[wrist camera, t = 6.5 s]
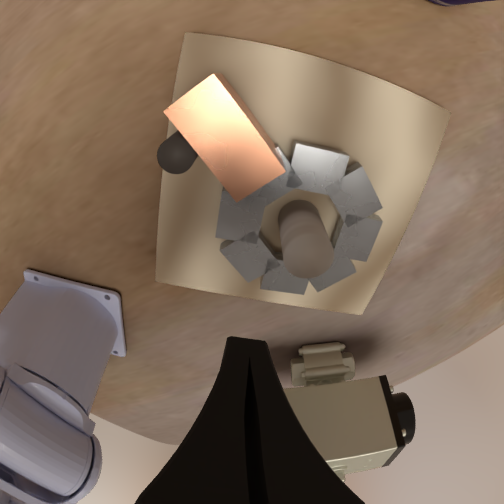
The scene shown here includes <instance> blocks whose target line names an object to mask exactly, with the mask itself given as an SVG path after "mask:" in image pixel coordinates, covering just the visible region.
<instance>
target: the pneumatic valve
mask: <svg viewBox="0 0 504 504" xmlns="http://www.w3.org/2000/svg"><path fill="white" fill-rule="evenodd" d="M344 349H345V345H344V344H343V343H341V344H340V343H339V342H332V343H324V344H315V345H305V346H302V348H299V356H301V355H302V358H292V359H291V361H290V362H291V378H292V385H293V386H304V387H297V388H286V389H283V390H284V392H285V394H286V397H287V399H288V401H289V403H290V405H291V407H292V409H293V411H294V413H295V415H296V417H297V419H298V421H299V422H300V424H301V426H302V428H303V429H304V431H305V432H306V434H307V436H308V437H309V439H310V440H311V442H312V443H313V445H314V446H315V448H316V449H317V451H318V452H319V453H320V455H321V456H322V457H323V458H324V460H325V461H326V462H327V464H328V465H329V466H330V467H331V469H332V470H333V471H334V472H335V473H336V475H337V476H338V477H339V478H340V479H341V480H342V481H343V482H345V474H350V473H356V472H361V471H366V470H371V469H375V468H380V467H384V466H388V465H389V464H390V463H391V462H392V461H393V460H394V459H395V457H396V456H397V455H398V454H399V453H400V452H401V450H402V449H403V448H404V447H405V444H409V443H410V442H411V441H412V439H413V436H414V433H415V413H414V408H413V405H412V402H411V400H410V398H409V397H408V395H407V394H406V393H403V392H401V393H397V394H391V393H392V392H393V386H389V384H388V380H387V377H386V375H383V376H378V377H372V378H366V379H360V380H354V381H347V382H346V381H345V380H351V379H353V377H354V375H355V362H354V358H353V355H352V354H351V353H350V352H345V353H341V351H344Z"/></svg>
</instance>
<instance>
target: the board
mask: <svg viewBox="0 0 504 504" xmlns="http://www.w3.org/2000/svg"><path fill="white" fill-rule="evenodd" d="M213 73H222V74H223V75H224V77H225V78H226V79H227V80H228V82H229V83H230V84H231V86H232V87H233V88H234V90H235V91H236V92H237V93H238V95H239V96H240V97H241V99H242V100H243V101H244V103H245V104H246V105H247V107H248V108H249V109H250V111H251V112H252V114H253V115H254V116H255V118H256V119H257V120H258V122H259V123H260V124H261V126H262V127H263V129H264V130H265V131H266V133H267V134H268V136H269V137H270V138H271V140H272V141H273V143H274V144H276V143H277V144H278V145H279V147H280V148H281V149H282V151H283V152H284V154H285V155H286V157H287V158H288V160H290V155H291V151H292V147H293V143H294V140H297V141H301V142H306V143H310V144H315V145H319V146H323V147H327V148H331V149H335V150H339V151H343V152H346V153H347V154H348V155H349V156H350V157H349V160H348V164H347V167H349V166H351V165H353V164H354V163H356V162H359V163H360V164H361V165H362V167H363V168H364V170H365V172H366V174H367V176H368V178H369V180H370V182H371V184H372V186H373V188H374V190H375V192H376V194H377V196H378V198H379V201H380V203H381V205H382V207H383V208H382V209H380V210H378V211H376V212H375V213H373V214H375V215H379V217H380V218H381V220H382V221H383V223H382V226H381V228H380V231H379V233H378V236H377V238H376V240H375V243H374V245H373V248H372V250H371V252H370V255H369V257H368V259H367V262H364V261H358V260H352V259H351V261H352V262H353V264H354V266H355V269H356V271H357V272H356V273H354V274H352V275H350V276H348V277H346V278H344V279H343V280H341V281H339V282H337V283H335V284H333V285H331V286H329V287H327V288H325V289H323V290H322V291H320V292H317V291H316V290H315V288H314V287H313V285H312V284H311V283H310V281H309V282H308V285H307V288H306V291H305V293H304V295H300V294H293V293H285V292H278V291H271V290H264V289H260V279H261V276H260V277H258V278H256V279H254V280H253V281H251V282H249V283H248V282H247V281H246V280H245V279H244V278H243V277H242V276H241V274H240V273H239V272H238V271H237V270H236V269H235V268H234V267H233V265H232V264H231V263H230V262H229V261H228V260H227V259H226V258H225V256H224V255H223V254H222V253H221V252H220V245H221V243H222V242H224V241H225V240H227V239H221V238H215V236H216V229H217V222H218V215H219V208H220V201H221V194H222V189H223V185H222V184H221V183H220V181H219V180H218V179H217V177H216V176H215V175H214V174H213V172H212V171H211V170H210V169H209V167H208V166H207V165H206V164H205V162H204V161H203V160H202V159H201V157H200V156H199V155H198V154H197V152H196V151H195V150H194V149H193V148H192V146H191V145H190V144H189V143H188V141H187V140H186V139H185V138H184V136H183V135H182V134H181V133H180V131H179V130H178V129H177V128H176V127H175V125H174V124H173V123H172V122H171V120H170V119H169V124H168V132H167V139H166V140H165V141H164V142H163V143H162V144H161V145H160V147H159V149H158V152H157V159H158V162H159V164H160V166H161V167H162V169H163V173H162V183H161V193H160V205H159V218H158V233H157V251H156V277H155V281H156V282H161V283H166V284H171V285H176V286H182V287H187V288H192V289H198V290H203V291H208V292H214V293H220V294H225V295H231V296H237V297H243V298H249V299H255V300H261V301H267V302H273V303H280V304H286V305H293V306H299V307H306V308H313V309H320V310H327V311H335V312H342V313H350V314H358V315H362V313H363V312H364V310H365V308H366V306H367V305H368V303H369V301H370V299H371V297H372V296H373V294H374V292H375V290H376V288H377V286H378V285H379V283H380V281H381V279H382V277H383V275H384V273H385V271H386V269H387V267H388V265H389V264H390V262H391V260H392V258H393V256H394V254H395V252H396V250H397V247H398V245H399V243H400V241H401V239H402V237H403V235H404V233H405V231H406V229H407V226H408V224H409V222H410V220H411V218H412V215H413V213H414V211H415V208H416V206H417V204H418V202H419V199H420V197H421V194H422V192H423V190H424V187H425V185H426V182H427V180H428V177H429V175H430V172H431V169H432V167H433V164H434V162H435V159H436V156H437V153H438V151H439V148H440V145H441V142H442V139H443V136H444V133H445V130H446V127H447V124H448V121H449V118H450V115H451V112H450V111H448V110H446V109H444V108H442V107H440V106H438V105H436V104H434V103H433V102H431V101H429V100H427V99H425V98H422V97H420V96H418V95H416V94H414V93H412V92H410V91H408V90H405V89H403V88H401V87H399V86H396V85H394V84H392V83H389V82H387V81H384V80H382V79H379V78H377V77H374V76H372V75H369V74H367V73H364V72H361V71H358V70H356V69H353V68H350V67H347V66H344V65H341V64H338V63H335V62H332V61H329V60H326V59H322V58H319V57H315V56H312V55H308V54H305V53H301V52H297V51H293V50H289V49H285V48H281V47H277V46H272V45H268V44H263V43H258V42H253V41H248V40H242V39H236V38H230V37H223V36H216V35H208V34H199V33H189V32H185V36H184V41H183V45H182V50H181V55H180V60H179V65H178V70H177V75H176V81H175V87H174V92H173V98H172V104H173V103H175V102H176V101H177V100H178V99H180V98H181V97H182V96H183V95H185V94H186V93H187V92H189V91H190V90H191V89H193V88H194V87H195V86H197V85H198V84H199V83H201V82H202V81H203V80H205V79H206V78H208V77H209V76H210V75H212V74H213ZM347 167H346V168H347ZM339 218H340V213H339V212H338V210H337V208H336V207H335V205H334V203H333V202H332V200H331V198H330V196H329V195H325V194H320V193H315V192H310V191H305V190H300V189H293V190H292V191H290V192H288V193H287V194H285V195H283V196H282V197H280V198H278V199H277V200H275V201H273V202H272V203H270V204H268V205H267V206H265V209H264V213H263V218H262V222H261V227H260V233H261V234H262V235H263V236H264V238H265V239H266V240H267V242H268V243H269V244H270V245H271V247H272V248H273V249H274V251H275V252H279V253H283V261H284V265H285V267H286V269H287V270H288V272H289V273H291V274H292V275H294V276H296V277H299V278H304V279H308V278H314V277H317V276H320V275H322V274H323V273H325V272H326V271H327V270H328V269H329V268H330V266H331V265H332V263H333V260H334V250H333V247H332V245H331V242H332V239H333V236H334V233H335V230H336V227H337V224H338V221H339Z"/></svg>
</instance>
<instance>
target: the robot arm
mask: <svg viewBox="0 0 504 504" xmlns="http://www.w3.org/2000/svg"><path fill="white" fill-rule="evenodd" d="M24 278H25V281H24V282H23V284H22V285H21V286H20V288H19V289H18V290H17V292H16V293H15V294H14V296H13V297H12V298H11V300H10V301H9V302H8V304H7V305H6V307H5V308H4V309H3V311H2V312H1V314H0V504H76V503H77V502H78V501H79V500H80V499H82V498H83V497H85V496H86V495H87V494H88V493H89V492H90V491H91V490H92V489H93V488H94V486H95V485H96V483H97V481H98V479H99V476H100V473H101V467H102V452H101V446H100V443H99V441H98V439H97V438H96V437H95V435H94V434H93V430H94V427H95V422H93V421H92V420H91V419H89V418H88V416H89V413H90V410H91V407H92V404H93V401H94V398H95V396H96V393H97V390H98V387H99V384H100V381H101V378H102V376H103V373H104V370H105V368H106V365H107V362H108V360H109V357H110V354H113V355H117V356H121V357H124V356H126V344H125V337H124V328H123V319H122V309H121V297H120V295H119V294H118V293H117V292H115V291H111V290H107V289H102V288H98V287H94V286H90V285H86V284H82V283H78V282H74V281H70V280H66V279H62V278H58V277H55V276H51V275H47V274H44V273H40V272H36V271H33V270H29V269H26V270H25V271H24ZM107 295H108V296H107ZM135 504H365V503H364V502H363V501H362V500H361V499H360V498H359V497H358V496H357V495H356V494H355V493H353V492H352V491H351V490H350V488H348V487H347V486H346V485H345V483H344V482H343V481H342V480H341V479H340V478H339V477H338V476H337V475H336V473H335V472H334V471H333V470H332V469H331V467H330V466H329V465H328V464H327V462H326V461H325V460H324V458H323V457H322V456H321V455H320V453H319V452H318V451H317V449H316V448H315V446H314V445H313V443H312V442H311V440H310V439H309V437H308V436H307V434H306V432H305V431H304V429H303V428H302V426H301V424H300V422H299V421H298V419H297V417H296V415H295V413H294V411H293V409H292V407H291V405H290V403H289V401H288V399H287V397H286V394H285V392H284V390H283V388H282V385H281V383H280V381H279V378H278V376H277V373H276V370H275V367H274V365H273V362H272V359H271V356H270V352H269V349H268V345H267V343H266V342H265V341H262V340H254V339H247V338H240V337H233V336H230V337H228V338H227V341H226V346H225V350H224V354H223V359H222V363H221V367H220V371H219V373H218V376H217V378H216V381H215V383H214V386H213V388H212V390H211V392H210V394H209V396H208V398H207V400H206V402H205V404H204V406H203V408H202V410H201V412H200V414H199V415H198V417H197V419H196V421H195V422H194V424H193V426H192V427H191V429H190V431H189V432H188V434H187V435H186V437H185V438H184V440H183V441H182V443H181V444H180V446H179V447H178V449H177V450H176V452H175V453H174V454H173V456H172V457H171V458H170V460H169V461H168V462H167V464H166V465H165V466H164V467H163V469H162V470H161V471H160V472H159V474H158V475H157V476H156V477H155V478H154V479H153V481H152V482H151V483H150V484H149V485H148V486H147V487H146V488H145V490H144V491H143V492H142V493H141V494H140V496H139V497H138V499H137V501H136V503H135Z"/></svg>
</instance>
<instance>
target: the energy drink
mask: <svg viewBox="0 0 504 504" xmlns="http://www.w3.org/2000/svg"><path fill="white" fill-rule="evenodd" d="M428 1H431V2H433V3H435V4H438V5H442V6H455V5H462V4H468V3H476V2H484V1H494V0H428Z"/></svg>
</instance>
